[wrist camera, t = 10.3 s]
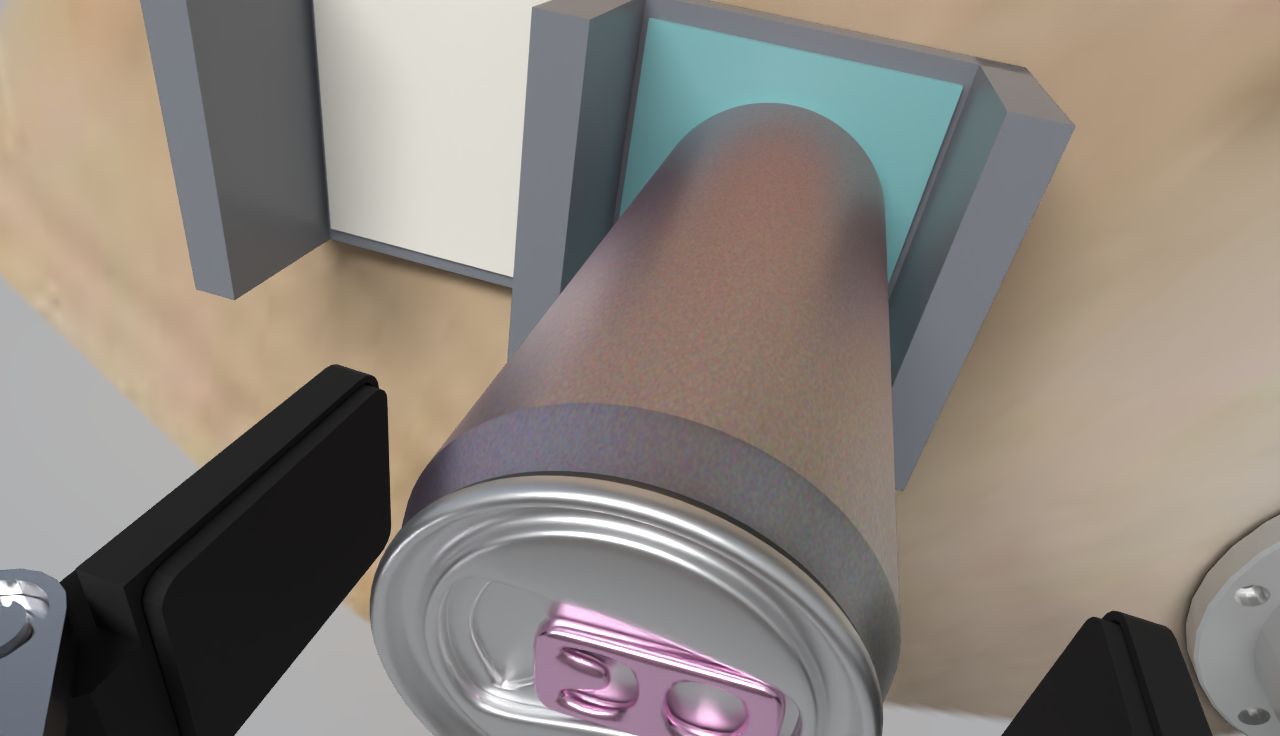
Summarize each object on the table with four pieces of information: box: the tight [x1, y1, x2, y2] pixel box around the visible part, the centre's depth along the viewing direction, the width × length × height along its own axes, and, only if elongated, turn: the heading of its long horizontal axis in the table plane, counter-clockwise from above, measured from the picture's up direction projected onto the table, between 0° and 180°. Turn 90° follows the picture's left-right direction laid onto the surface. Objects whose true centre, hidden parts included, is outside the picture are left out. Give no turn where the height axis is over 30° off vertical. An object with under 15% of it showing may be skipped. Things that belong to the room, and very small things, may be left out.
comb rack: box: [140, 0, 1075, 491], centre depth 20 cm, size 20×9×6 cm, turn 81°
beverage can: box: [370, 103, 900, 736], centre depth 14 cm, size 6×6×15 cm
